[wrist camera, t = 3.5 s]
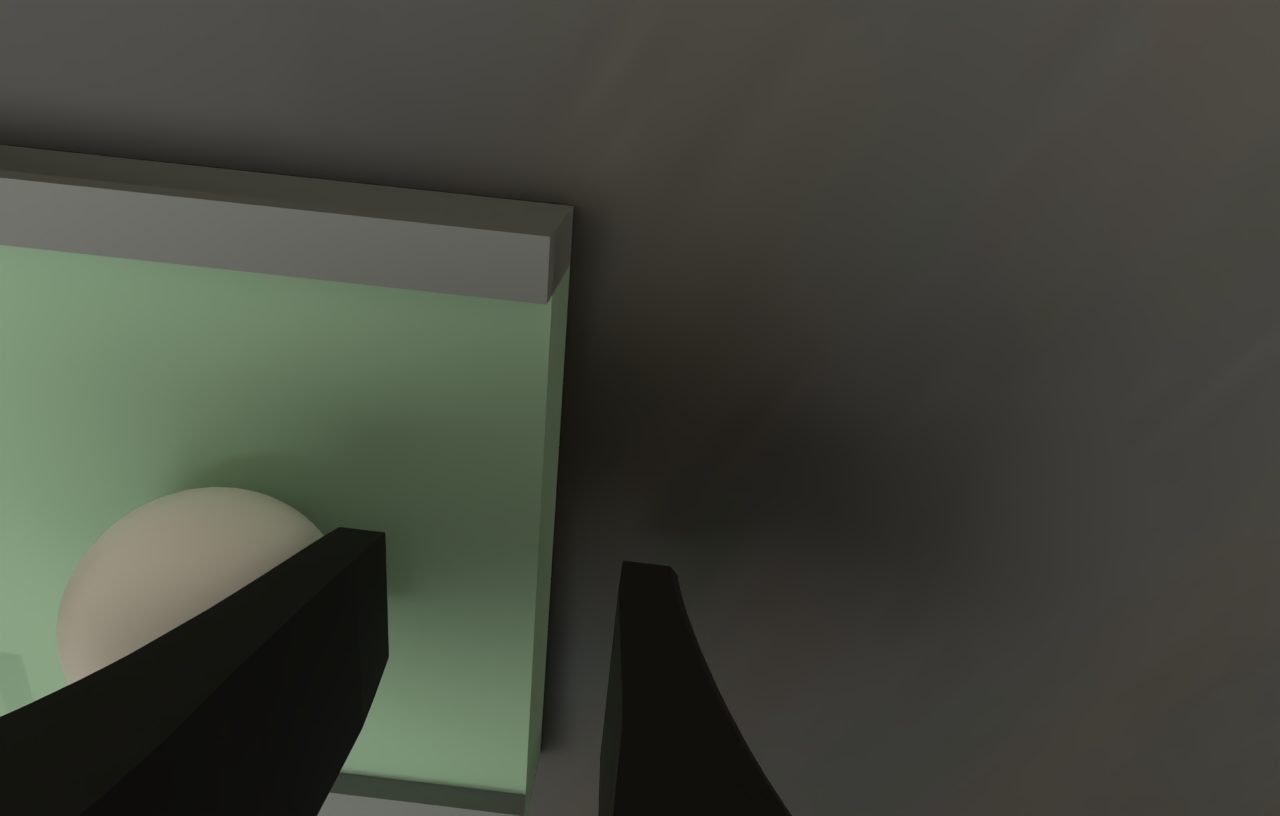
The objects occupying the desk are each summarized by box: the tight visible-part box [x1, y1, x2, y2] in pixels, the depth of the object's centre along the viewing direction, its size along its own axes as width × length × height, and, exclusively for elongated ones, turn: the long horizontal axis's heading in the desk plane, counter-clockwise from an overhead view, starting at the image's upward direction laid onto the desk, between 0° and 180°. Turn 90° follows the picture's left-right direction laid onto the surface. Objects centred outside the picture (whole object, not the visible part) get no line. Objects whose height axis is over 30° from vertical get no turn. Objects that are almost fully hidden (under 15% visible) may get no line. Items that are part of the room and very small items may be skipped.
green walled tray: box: [0, 145, 574, 816], centre depth 12 cm, size 14×10×3 cm
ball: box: [56, 487, 324, 685], centre depth 10 cm, size 3×3×3 cm
